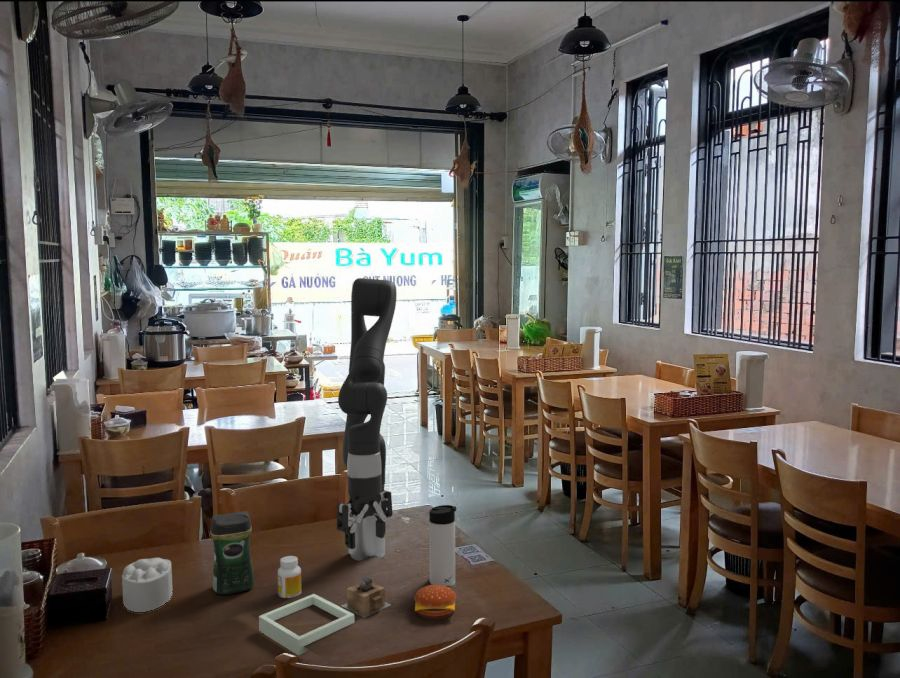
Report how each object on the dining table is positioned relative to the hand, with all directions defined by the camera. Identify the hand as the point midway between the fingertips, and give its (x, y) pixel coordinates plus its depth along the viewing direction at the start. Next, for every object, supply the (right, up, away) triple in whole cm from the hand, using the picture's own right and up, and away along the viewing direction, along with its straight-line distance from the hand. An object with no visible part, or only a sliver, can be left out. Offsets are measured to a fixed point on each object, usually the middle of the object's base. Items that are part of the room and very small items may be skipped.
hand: (365, 542), depth 161 cm
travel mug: (+17, -15, +14) cm, 27 cm away
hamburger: (+15, -17, -1) cm, 23 cm away
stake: (0, -16, +2) cm, 16 cm away
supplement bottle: (-19, -16, +8) cm, 26 cm away
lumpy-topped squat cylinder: (-52, -16, +8) cm, 55 cm away
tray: (-12, -17, -6) cm, 22 cm away
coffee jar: (-34, -15, +14) cm, 40 cm away
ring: (0, -15, +2) cm, 15 cm away
